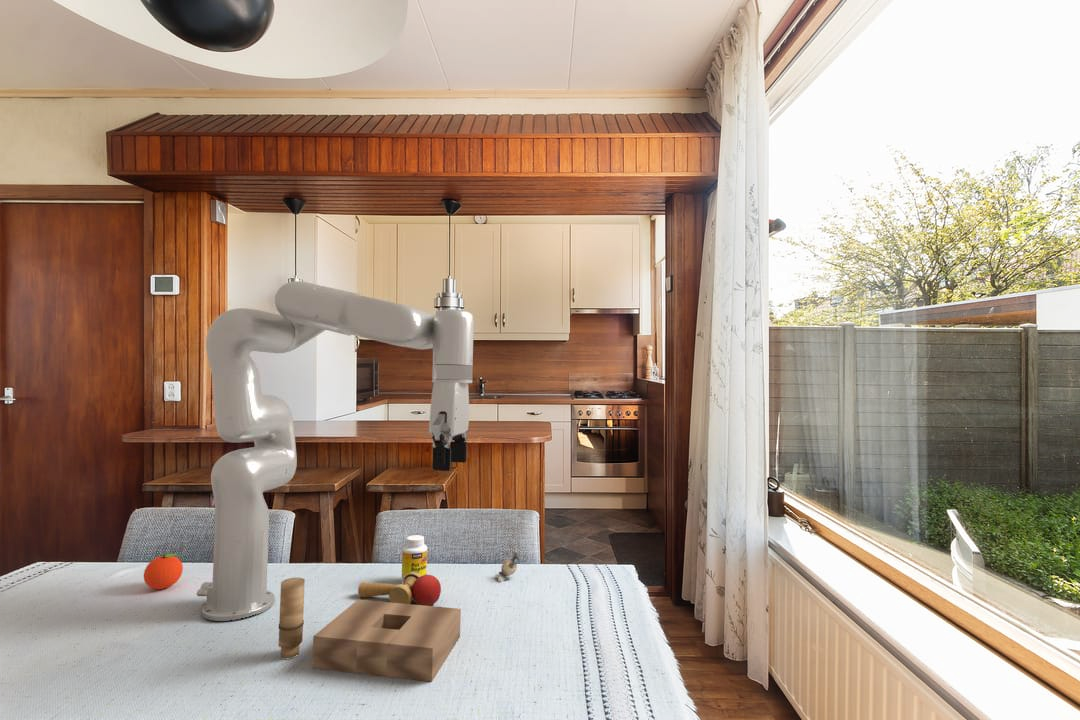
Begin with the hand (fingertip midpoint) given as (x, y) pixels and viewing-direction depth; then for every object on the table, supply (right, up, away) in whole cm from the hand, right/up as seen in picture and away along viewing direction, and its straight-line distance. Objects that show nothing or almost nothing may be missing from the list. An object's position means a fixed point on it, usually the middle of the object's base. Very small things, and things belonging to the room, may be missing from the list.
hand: (450, 465), depth 96 cm
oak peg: (-25, -29, -11) cm, 40 cm away
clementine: (-65, -30, +16) cm, 74 cm away
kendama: (-13, -31, +11) cm, 35 cm away
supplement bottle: (-12, -31, +20) cm, 39 cm away
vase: (+10, -32, +24) cm, 41 cm away
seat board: (-8, -30, -9) cm, 32 cm away
